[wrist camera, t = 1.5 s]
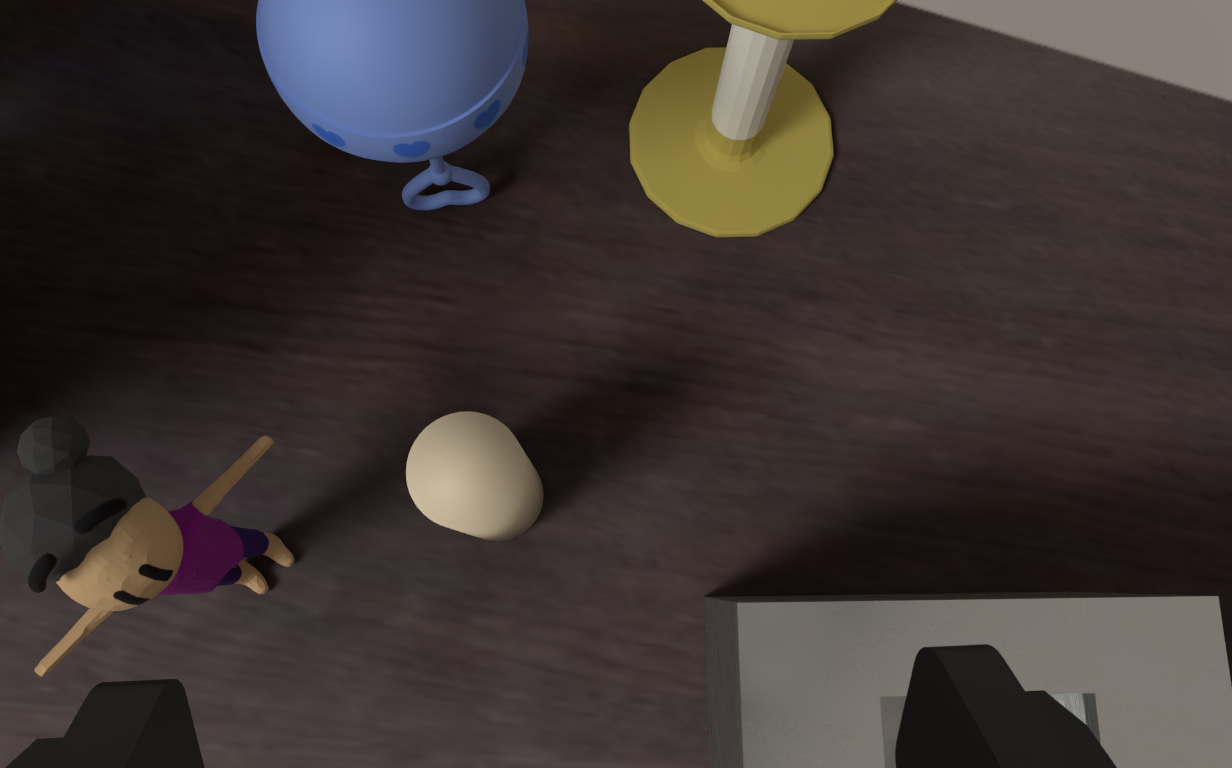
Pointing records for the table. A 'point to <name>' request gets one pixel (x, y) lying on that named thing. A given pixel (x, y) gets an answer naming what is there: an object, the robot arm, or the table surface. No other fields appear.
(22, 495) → the toy
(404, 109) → the baby rattle
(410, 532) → the table surface
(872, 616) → the white hollow block
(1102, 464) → the table surface
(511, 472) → the capsule
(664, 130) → the candle
